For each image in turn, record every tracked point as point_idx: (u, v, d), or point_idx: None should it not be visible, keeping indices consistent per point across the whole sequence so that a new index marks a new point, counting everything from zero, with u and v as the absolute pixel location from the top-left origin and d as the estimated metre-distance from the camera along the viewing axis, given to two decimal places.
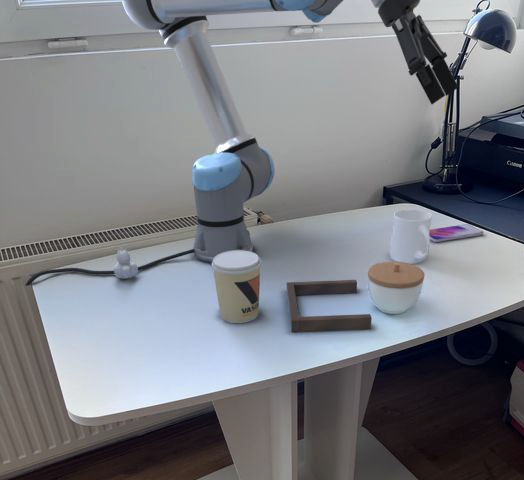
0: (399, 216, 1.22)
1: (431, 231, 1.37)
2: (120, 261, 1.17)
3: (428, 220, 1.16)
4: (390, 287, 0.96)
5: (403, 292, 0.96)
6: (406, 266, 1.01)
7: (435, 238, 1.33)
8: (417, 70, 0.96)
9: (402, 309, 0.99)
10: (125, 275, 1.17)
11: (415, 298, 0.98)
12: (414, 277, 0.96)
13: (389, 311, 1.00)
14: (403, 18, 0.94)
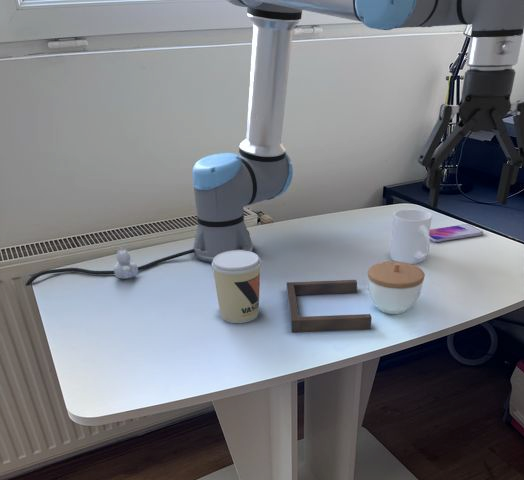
0: (399, 216, 1.22)
1: (431, 231, 1.37)
2: (120, 261, 1.17)
3: (428, 220, 1.16)
4: (390, 287, 0.96)
5: (403, 292, 0.96)
6: (406, 266, 1.01)
7: (435, 238, 1.33)
8: (427, 167, 0.89)
9: (402, 309, 0.99)
10: (125, 275, 1.17)
11: (415, 298, 0.98)
12: (414, 277, 0.96)
13: (389, 311, 1.00)
14: (445, 110, 0.83)
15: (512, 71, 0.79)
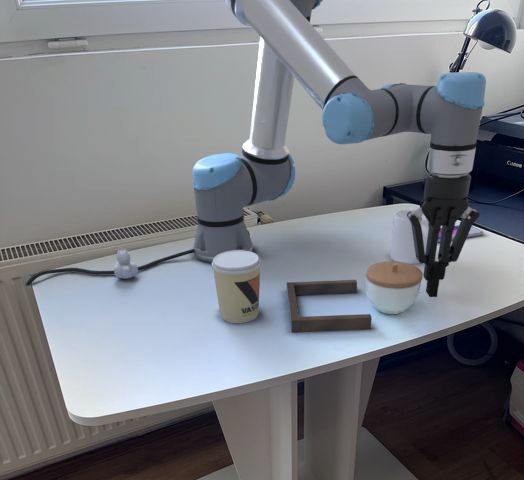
0: (399, 216, 1.22)
1: None
2: (120, 261, 1.17)
3: None
4: (388, 287, 0.96)
5: (401, 291, 0.96)
6: (404, 266, 1.01)
7: None
8: None
9: (400, 309, 0.99)
10: (125, 275, 1.17)
11: (413, 298, 0.98)
12: (412, 277, 0.96)
13: (387, 311, 1.00)
14: (411, 220, 0.93)
15: (467, 178, 0.87)
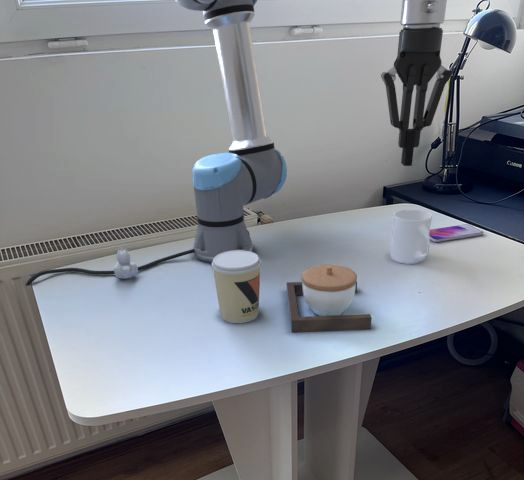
0: (399, 216, 1.22)
1: (431, 231, 1.37)
2: (120, 261, 1.17)
3: (428, 220, 1.16)
4: (320, 290, 0.96)
5: (333, 295, 0.96)
6: (340, 269, 1.01)
7: (435, 238, 1.33)
8: (399, 129, 1.00)
9: (335, 312, 0.99)
10: (125, 275, 1.17)
11: (347, 301, 0.98)
12: (345, 281, 0.96)
13: (323, 314, 1.00)
14: (384, 78, 0.94)
15: (439, 29, 0.89)
